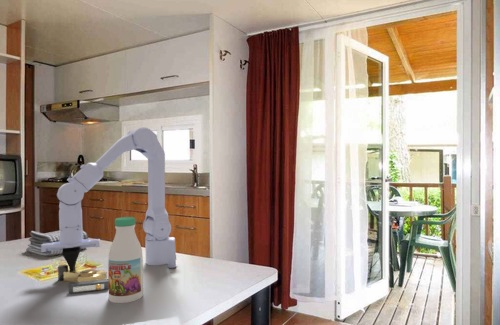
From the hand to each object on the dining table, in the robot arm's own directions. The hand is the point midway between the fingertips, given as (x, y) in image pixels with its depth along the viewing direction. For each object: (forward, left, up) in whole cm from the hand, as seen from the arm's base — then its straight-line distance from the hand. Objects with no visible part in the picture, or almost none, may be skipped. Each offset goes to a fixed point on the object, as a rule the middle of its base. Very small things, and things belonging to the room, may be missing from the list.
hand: (72, 274), depth 96 cm
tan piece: (-3, +5, -1) cm, 6 cm away
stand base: (-7, +6, -2) cm, 10 cm away
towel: (+13, -43, -3) cm, 45 cm away
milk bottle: (-15, +20, -2) cm, 25 cm away
